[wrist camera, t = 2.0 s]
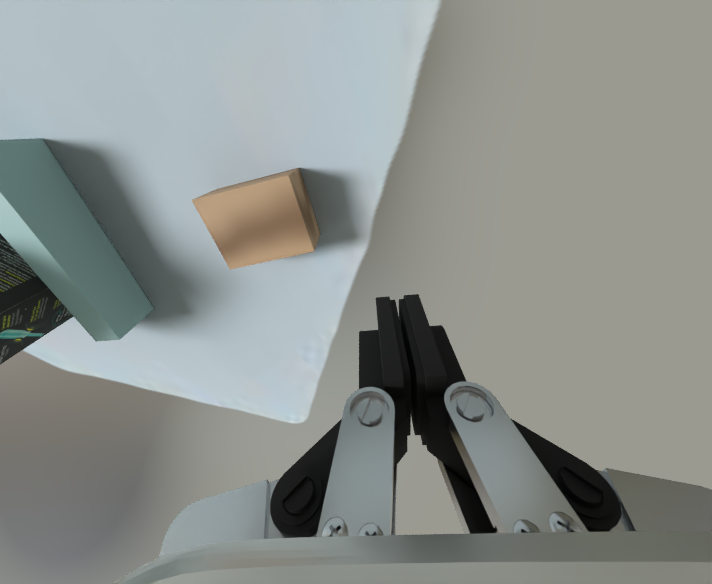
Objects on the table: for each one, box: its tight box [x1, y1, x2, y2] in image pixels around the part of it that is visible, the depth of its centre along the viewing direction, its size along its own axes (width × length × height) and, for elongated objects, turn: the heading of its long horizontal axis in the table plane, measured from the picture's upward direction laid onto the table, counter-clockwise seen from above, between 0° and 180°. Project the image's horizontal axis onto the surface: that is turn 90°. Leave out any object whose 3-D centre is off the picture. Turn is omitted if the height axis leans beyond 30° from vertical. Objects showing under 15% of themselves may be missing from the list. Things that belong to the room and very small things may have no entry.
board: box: [0, 139, 154, 341], centre depth 27 cm, size 20×3×6 cm, turn 6°
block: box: [192, 168, 320, 269], centre depth 26 cm, size 7×9×5 cm
